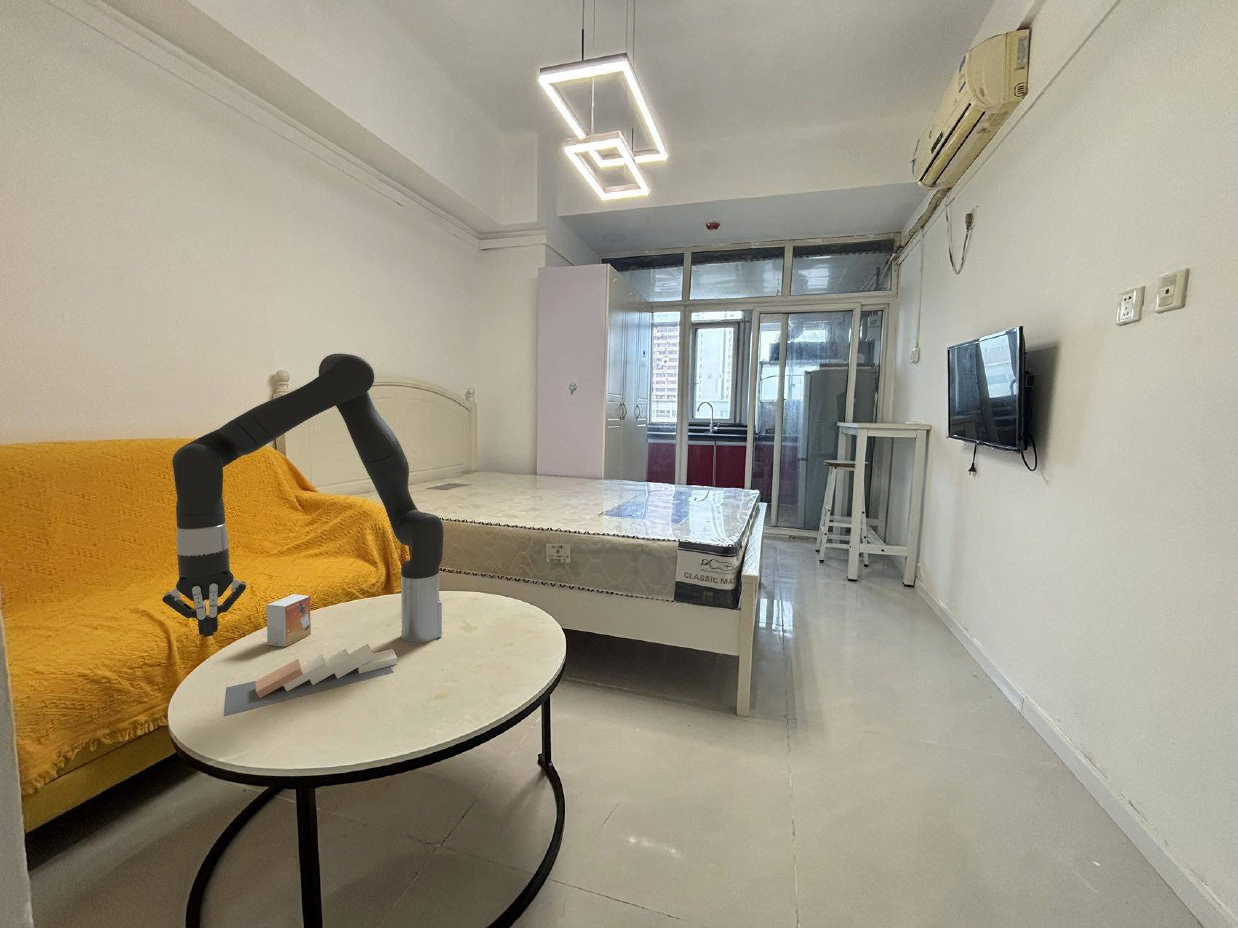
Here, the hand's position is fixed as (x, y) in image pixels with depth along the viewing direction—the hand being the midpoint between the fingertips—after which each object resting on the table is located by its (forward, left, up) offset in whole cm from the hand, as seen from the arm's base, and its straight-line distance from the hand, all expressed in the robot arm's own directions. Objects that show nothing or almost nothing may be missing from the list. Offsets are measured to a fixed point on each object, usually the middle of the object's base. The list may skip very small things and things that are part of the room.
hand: (209, 634), depth 96 cm
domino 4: (-21, 0, -13) cm, 25 cm away
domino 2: (-12, 0, -13) cm, 18 cm away
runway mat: (-17, 0, -15) cm, 22 cm away
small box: (-14, -26, -15) cm, 33 cm away
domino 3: (-16, 0, -13) cm, 21 cm away
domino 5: (-25, 0, -13) cm, 29 cm away
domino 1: (-7, 0, -13) cm, 15 cm away
